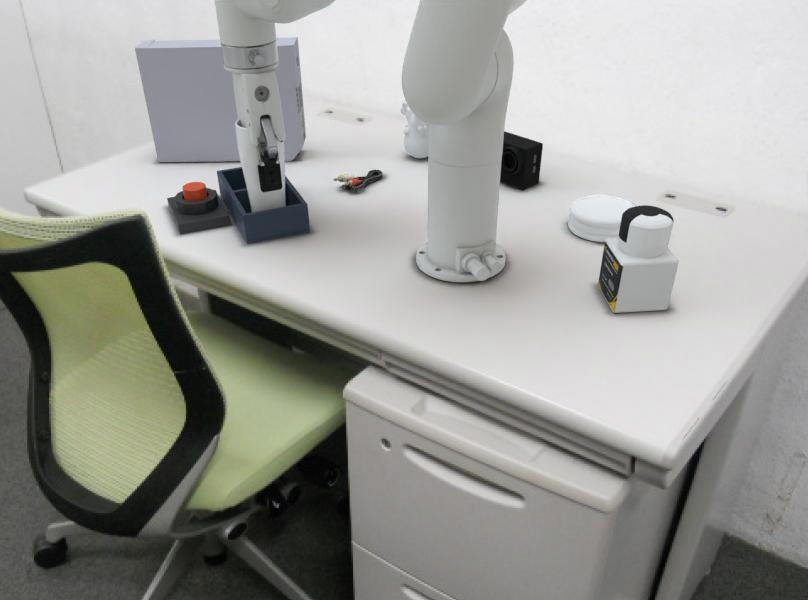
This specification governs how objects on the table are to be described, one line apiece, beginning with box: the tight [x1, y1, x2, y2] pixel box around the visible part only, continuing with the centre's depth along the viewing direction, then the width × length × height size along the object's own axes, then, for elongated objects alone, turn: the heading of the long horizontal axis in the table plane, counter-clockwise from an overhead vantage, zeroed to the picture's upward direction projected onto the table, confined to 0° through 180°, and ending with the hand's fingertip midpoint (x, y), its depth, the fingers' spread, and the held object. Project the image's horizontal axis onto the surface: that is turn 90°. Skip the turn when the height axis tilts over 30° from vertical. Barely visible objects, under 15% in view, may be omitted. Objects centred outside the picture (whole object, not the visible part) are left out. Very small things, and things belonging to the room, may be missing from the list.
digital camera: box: [500, 130, 544, 191], centre depth 131 cm, size 10×5×7 cm, turn 42°
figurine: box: [399, 99, 430, 159], centre depth 139 cm, size 7×7×12 cm
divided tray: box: [216, 166, 311, 245], centre depth 123 cm, size 19×10×5 cm, turn 21°
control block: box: [166, 187, 232, 235], centre depth 124 cm, size 11×8×4 cm
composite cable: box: [332, 169, 383, 193], centre depth 132 cm, size 10×5×2 cm, turn 130°
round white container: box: [567, 194, 636, 243], centre depth 116 cm, size 10×10×4 cm
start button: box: [181, 181, 207, 201], centre depth 122 cm, size 4×4×2 cm
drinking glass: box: [235, 119, 286, 212], centre depth 116 cm, size 7×7×15 cm
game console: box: [134, 36, 307, 163], centre depth 139 cm, size 6×27×20 cm, turn 88°
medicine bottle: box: [597, 204, 679, 314], centre depth 98 cm, size 7×7×12 cm
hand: (265, 180), depth 117 cm, fingers closed on drinking glass, 6 cm apart
